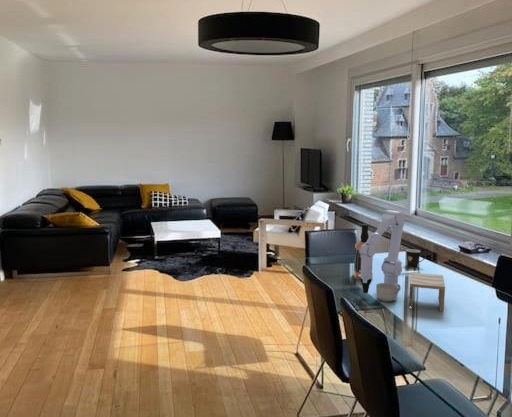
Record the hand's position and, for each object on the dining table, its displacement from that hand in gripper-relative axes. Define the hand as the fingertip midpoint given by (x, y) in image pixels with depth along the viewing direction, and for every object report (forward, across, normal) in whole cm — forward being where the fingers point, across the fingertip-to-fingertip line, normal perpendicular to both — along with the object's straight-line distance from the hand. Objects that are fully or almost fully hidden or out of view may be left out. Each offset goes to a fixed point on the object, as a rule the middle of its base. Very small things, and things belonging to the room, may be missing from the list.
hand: (365, 292), depth 270 cm
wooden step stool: (+2, 0, +30) cm, 30 cm away
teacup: (+3, 0, +12) cm, 12 cm away
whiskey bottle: (+3, -38, -5) cm, 38 cm away
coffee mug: (+3, -75, +24) cm, 79 cm away
